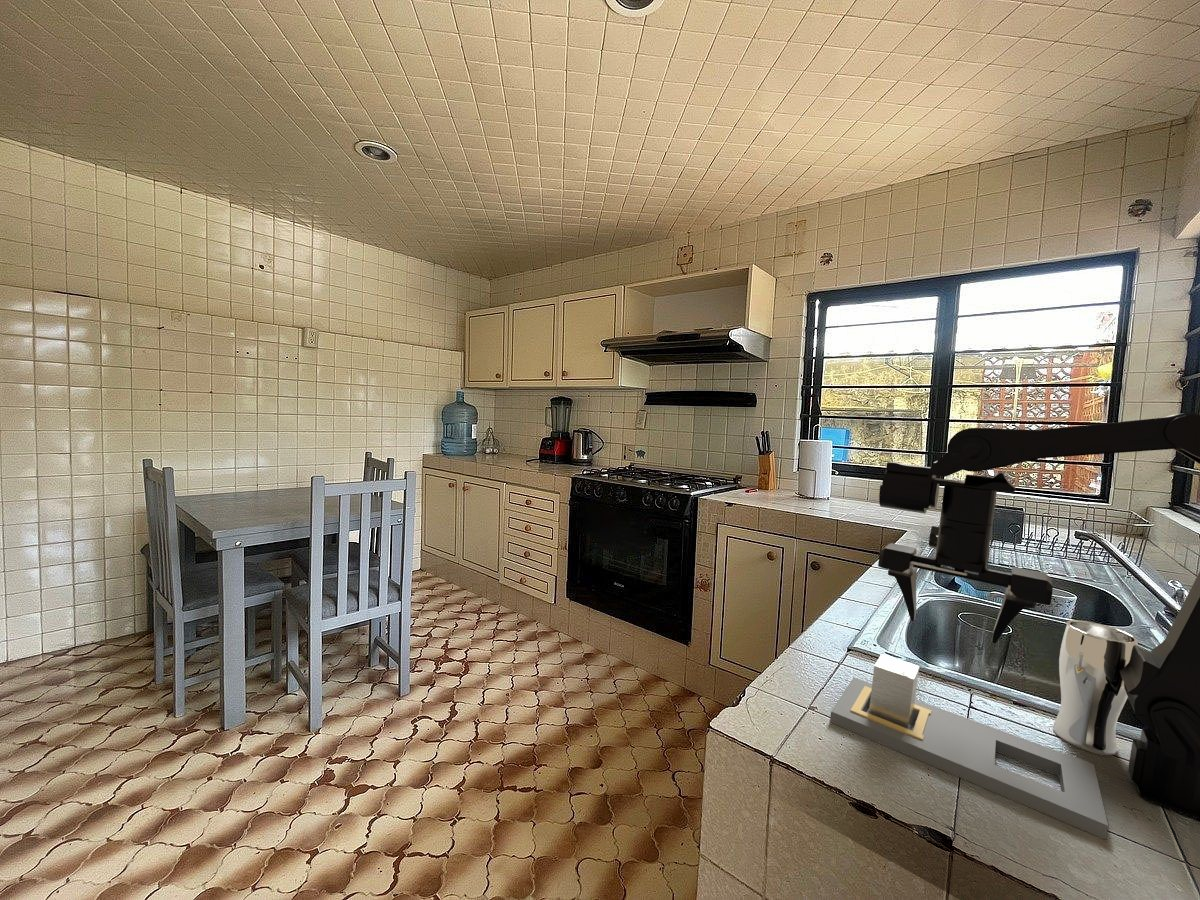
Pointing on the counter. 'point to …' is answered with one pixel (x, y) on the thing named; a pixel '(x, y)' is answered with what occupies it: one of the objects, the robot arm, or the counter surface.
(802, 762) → the counter surface
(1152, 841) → the counter surface
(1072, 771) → the rail
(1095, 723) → the silver metal cylinder
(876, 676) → the peg
